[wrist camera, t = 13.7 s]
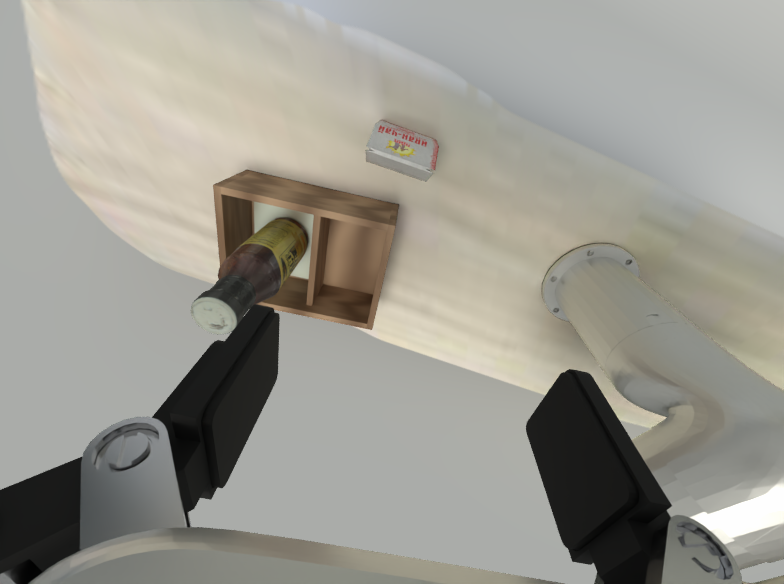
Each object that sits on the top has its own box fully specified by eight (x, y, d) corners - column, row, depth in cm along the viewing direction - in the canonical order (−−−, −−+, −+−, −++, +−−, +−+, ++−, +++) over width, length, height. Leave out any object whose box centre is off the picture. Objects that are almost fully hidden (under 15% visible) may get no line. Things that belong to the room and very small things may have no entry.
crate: (398, 204, 42) (395, 226, 36) (378, 297, 50) (371, 329, 43) (246, 169, 41) (213, 184, 34) (249, 270, 49) (222, 299, 42)
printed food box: (424, 170, 40) (427, 191, 31) (372, 152, 39) (360, 168, 31) (435, 139, 38) (441, 152, 30) (381, 119, 37) (370, 127, 29)
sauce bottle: (299, 264, 47) (234, 360, 30) (259, 241, 46) (167, 329, 29) (319, 229, 44) (259, 313, 27) (277, 203, 42) (185, 276, 26)
